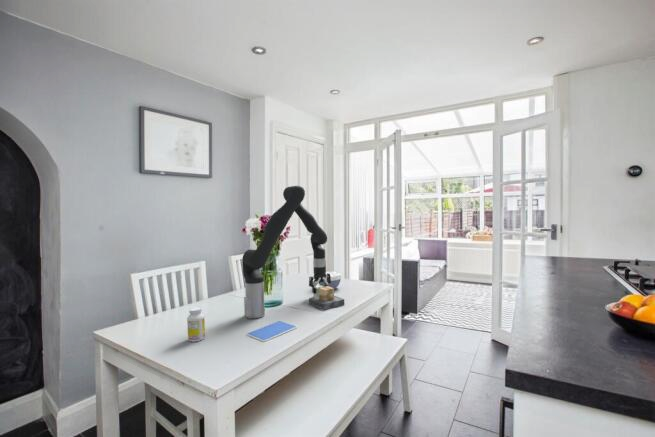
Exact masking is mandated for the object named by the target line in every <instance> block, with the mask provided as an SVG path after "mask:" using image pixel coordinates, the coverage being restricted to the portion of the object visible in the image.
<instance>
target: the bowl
mask: <svg viewBox="0 0 655 437" xmlns="http://www.w3.org/2000/svg"><path fill="white" fill-rule="evenodd" d="M327 273H328V274H330V277H331V283H330V284H328V286H329V287H332V288H334V290H336V289H337V288H338V286H339V285H340V283H341V279H342V274H341V272H338V271H326V274H327ZM325 279H326V280H327V277H326V278H325ZM318 286H324V287H325V284H324V282H320V283H318Z"/></svg>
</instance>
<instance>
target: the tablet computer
mask: <svg viewBox="0 0 655 437" xmlns="http://www.w3.org/2000/svg"><path fill="white" fill-rule="evenodd" d="M295 329H298V327H297V325H294V324H290V323H288V322H284V321H281V320H277V321H276V322H273V323H270V324H268V325H265V326H263V327H260V328H257V329H255V330H252V331H249V332H247V333H246V336H247V337H249V338H253V339H255V340H258V341H260V342H263V343H266V342H268V341H270V340H272V339H275V338H276V337H279V336H282V335H284V334H286V333H288V332H291V331H293V330H295Z"/></svg>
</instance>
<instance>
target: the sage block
mask: <svg viewBox="0 0 655 437" xmlns="http://www.w3.org/2000/svg"><path fill="white" fill-rule="evenodd" d="M321 287H324V286H320V285H316V287H315V288H316V294H314V293H313V292H312V298H313V297H317V296H319V288H321Z"/></svg>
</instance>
